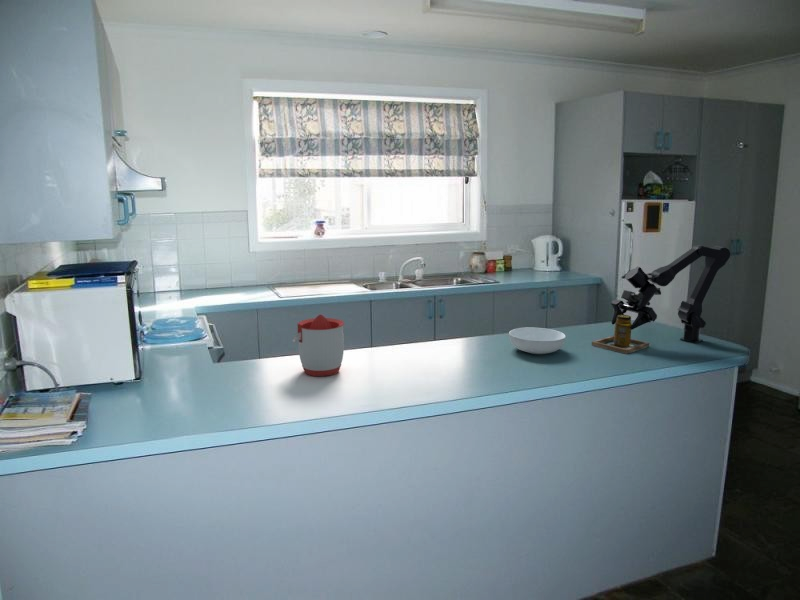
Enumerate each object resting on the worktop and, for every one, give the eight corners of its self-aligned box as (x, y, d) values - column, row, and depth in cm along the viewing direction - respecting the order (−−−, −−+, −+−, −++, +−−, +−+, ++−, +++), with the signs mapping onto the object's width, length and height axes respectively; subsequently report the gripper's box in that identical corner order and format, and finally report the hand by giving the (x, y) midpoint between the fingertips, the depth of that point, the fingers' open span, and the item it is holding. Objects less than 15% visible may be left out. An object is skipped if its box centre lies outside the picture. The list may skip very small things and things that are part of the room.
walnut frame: (614, 338, 249) (615, 335, 249) (649, 346, 238) (649, 342, 237) (591, 345, 239) (591, 341, 239) (626, 353, 228) (626, 350, 228)
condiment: (634, 345, 239) (636, 316, 236) (624, 350, 233) (626, 319, 231) (616, 342, 244) (618, 313, 242) (606, 346, 238) (608, 316, 236)
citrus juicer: (289, 368, 211) (287, 311, 207) (338, 362, 217) (337, 307, 213) (298, 382, 197) (296, 322, 193) (350, 376, 203) (349, 317, 199)
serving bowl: (570, 359, 222) (572, 340, 220) (513, 359, 222) (513, 340, 221) (557, 343, 242) (558, 326, 241) (504, 343, 242) (505, 326, 241)
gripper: (616, 279, 244) (593, 308, 241) (654, 286, 228) (631, 318, 225) (628, 296, 249) (606, 326, 246) (667, 305, 233) (644, 336, 230)
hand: (621, 326), depth 237 cm, fingers open, 9 cm apart
